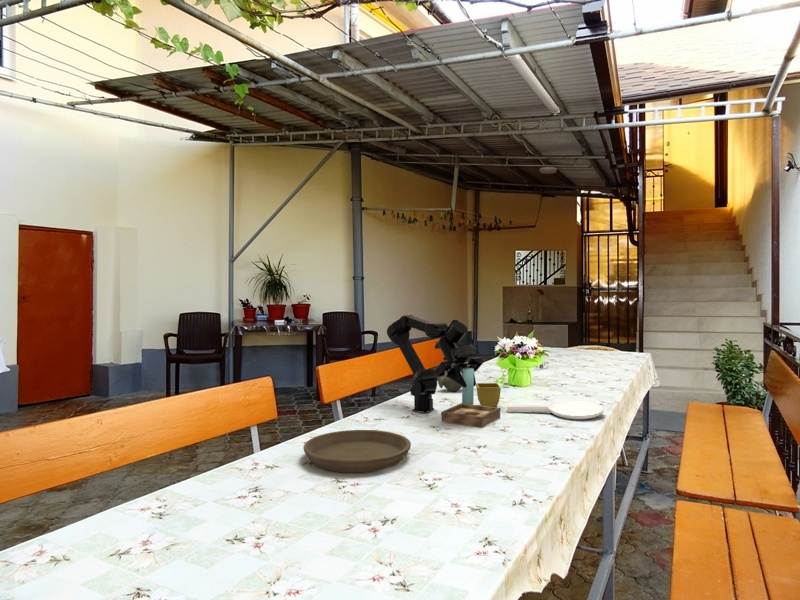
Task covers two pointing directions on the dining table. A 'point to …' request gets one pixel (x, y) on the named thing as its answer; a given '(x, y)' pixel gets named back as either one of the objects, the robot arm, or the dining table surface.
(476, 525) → the dining table surface
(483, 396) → the flower pot
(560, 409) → the white piece
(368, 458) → the plant saucer
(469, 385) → the peg
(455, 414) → the bore box
